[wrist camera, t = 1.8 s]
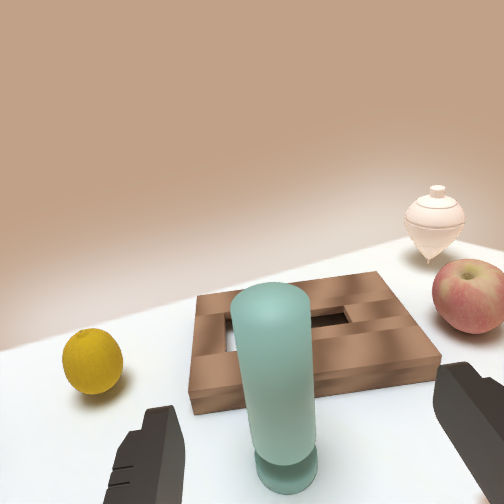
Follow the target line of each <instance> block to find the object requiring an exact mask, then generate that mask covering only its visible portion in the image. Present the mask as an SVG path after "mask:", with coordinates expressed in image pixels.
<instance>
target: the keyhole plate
mask: <svg viewBox="0 0 504 504" xmlns="http://www.w3.org/2000/svg"><path fill="white" fill-rule="evenodd" d="M287 284H291V285H294V286H296V287H298V288H300V289H302V290H303V291H304V292H305V293H306V294H307V295H308V297H309V299H310V312H311V317H315V316H322V315H329V314H336V313H343V312H344V314H345V316H346V318H347V320H348V322H349V323H345V324H338V325H331V326H324V327H317V328H311V334H312V357H313V380H314V398H316V397H323V396H330V395H337V394H344V393H350V392H357V391H364V390H371V389H378V388H385V387H392V386H399V385H406V384H412V383H419V382H426V381H433V380H436V374H437V368H438V367H439V366H440V363H441V357H442V355H441V353H440V352H439V351H438V350H437V348H436V347H435V346H434V344H433V343H432V342H431V341H430V339H429V338H428V337H427V335H426V334H425V333H424V332H423V330H422V329H421V328H420V327H419V325H418V324H417V323H416V321H415V320H414V319H413V318H412V316H411V315H410V314H409V312H408V311H407V310H406V309H405V307H404V306H403V305H402V303H401V302H400V301H399V300H398V298H397V297H396V296H395V294H394V293H393V292H392V291H391V289H390V288H389V287H388V285H387V284H386V283H385V282H384V280H383V279H382V278H381V276H380V275H379V274H378V273H377V271H374V272H366V273H359V274H352V275H345V276H337V277H330V278H323V279H316V280H308V281H301V282H294V283H287ZM243 290H245V289H243ZM243 290H236V291H228V292H221V293H214V294H207V295H199V296H197V303H196V313H195V324H194V335H193V345H192V356H191V366H190V377H189V387H188V393H189V397H190V401H191V404H192V408H193V412H194V415H199V414H206V413H213V412H220V411H226V410H233V409H240V408H246V402H245V396H244V390H243V384H242V378H241V372H240V366H239V360H238V354H237V351H233V352H226V331H225V321H230V320H232V318H231V312H230V305H231V302H232V300H233V299H234V298H235V296H236V295H237V294H239V293H240V292H241V291H243Z"/></svg>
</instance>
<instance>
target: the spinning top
mask: <svg viewBox="0 0 504 504" xmlns="http://www.w3.org/2000/svg"><path fill="white" fill-rule="evenodd" d="M445 190H446V188H445V187H444V186H440V185H435V186H431V187H430V195H426V196H422V197H420V198H418V199H417V200H416V201H415V202H414V203H412V204H411V205H410V207H409V208H408V210H407V211H406V214H405V218H404V219H405V227H406V229H407V232H408V234H409V236H410V238H411V240H412V241H413V242H414V244H415V245H416V247H417V248H418V250H419V251H420V252H421V253H422V254H423V256H424V257H425V258H427V264H430V259H432V258H434V257H435V256H437V255H438V254H439V253H441V252H442V251H443V250H444V249H445V248H447V247H448V246H449V245H450V244H451V243H452V242H453V241H454V240H455V239H456V238H457V236H458V235H459V234H460V232H461V231H462V229H463V227H464V224H465V214H464V211H463V209H462V208H461V206H460V205H459V204H458V203H457V201H456V200H454V199H453V198H451V197H448V196H445V195H444V194H445Z"/></svg>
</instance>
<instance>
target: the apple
mask: <svg viewBox="0 0 504 504" xmlns="http://www.w3.org/2000/svg"><path fill="white" fill-rule="evenodd" d="M432 297H433V301H434V305H435V307H436V309H437V311H438V312H439V314H440V315H441V316H442V317H443V318H444V319H445V320H446V321H447V322H448V323H449V324H450V325H451V326H453V327H454V328H456V329H457V330H460V331H463V332H466V333H472V334H480V333H485V332H488V331H490V330H492V329H494V328H496V327H498V326H499V325H500V324H501V323H503V322H504V273H503V272H502V271H501V270H500V269H499V268H497V267H495V266H493V265H491V264H489V263H487V262H484V261H480V260H475V259H461V260H455V261H452V262H450V263H448V264H446V265H445V266H444V267H443V268H442V269H441V270H440V271H439V272H438V274H437V275H436V277H435V279H434V282H433V287H432Z"/></svg>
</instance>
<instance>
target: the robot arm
mask: <svg viewBox="0 0 504 504" xmlns="http://www.w3.org/2000/svg"><path fill="white" fill-rule="evenodd" d="M433 408H434V412H435V415H436V417H437V419H438V421H439V423H440V425H441V426H442V428H443V429H444V431H445V433H446V434H447V436H448V437H449V439H450V441H451V442H452V444H453V445H454V447H455V448H456V450H457V452H458V453H459V455H460V456H461V458H462V460H463V461H464V463H465V464H466V466H467V467H468V469H469V471H470V472H471V474H472V475H473V477H474V479H475V480H476V482H477V483H478V485H479V487H480V488H481V490H482V491H483V493H484V494H485V496H486V498H487V499H488V501H489V502H490V504H504V386H503V385H501V384H500V383H498V382H497V381H495V380H494V379H492V378H490V377H487V378H482V377H481V376H480V375H479V374H478V372H477V371H476V370H475V369H474V368H473V367H472V366H471V365H470V364H469V363H468V362H458V363H451V364H445V365H440V366H439V367H438V368H437V374H436V381H435V388H434V395H433ZM184 467H185V444H184V438H183V435H182V432H181V428H180V425H179V422H178V419H177V415H176V412H175V409H174V407H173V405H170V406H163V407H156V408H150V409H147V410H146V412H145V415H144V419H143V424H142V429H141V430H135V431H129V433H128V434H127V436H126V437H125V439H124V440H123V442H122V443H121V445H120V446H119V448H118V450H117V453H116V457H115V461H114V465H113V468H112V469H113V472H112V473H111V476H110V480H109V483H108V489H107V491H106V494H105V498H104V502H103V504H181V502H182V491H183V479H184Z"/></svg>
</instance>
